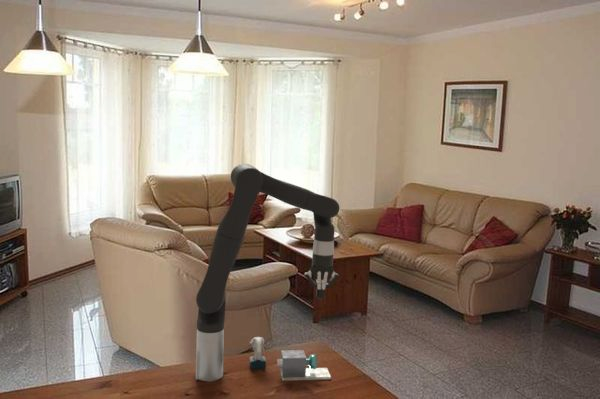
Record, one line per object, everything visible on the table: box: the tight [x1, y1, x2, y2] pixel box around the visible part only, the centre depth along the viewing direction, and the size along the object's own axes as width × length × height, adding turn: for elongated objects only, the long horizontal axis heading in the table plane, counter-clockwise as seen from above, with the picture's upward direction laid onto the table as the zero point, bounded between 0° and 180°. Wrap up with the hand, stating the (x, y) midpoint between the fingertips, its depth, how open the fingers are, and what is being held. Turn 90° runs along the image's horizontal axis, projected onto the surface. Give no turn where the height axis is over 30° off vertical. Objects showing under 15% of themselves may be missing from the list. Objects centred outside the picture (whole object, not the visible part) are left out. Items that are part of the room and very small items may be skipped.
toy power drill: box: [249, 336, 267, 371], centre depth 199 cm, size 6×8×11 cm
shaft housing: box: [280, 349, 332, 382], centre depth 194 cm, size 17×7×8 cm, turn 98°
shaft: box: [276, 353, 318, 369], centre depth 194 cm, size 14×5×5 cm, turn 98°
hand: (320, 298), depth 200 cm, fingers closed
